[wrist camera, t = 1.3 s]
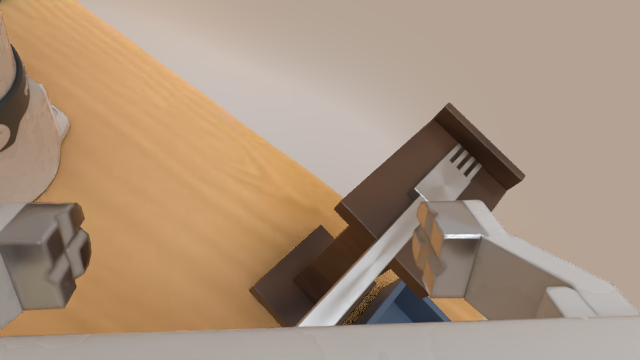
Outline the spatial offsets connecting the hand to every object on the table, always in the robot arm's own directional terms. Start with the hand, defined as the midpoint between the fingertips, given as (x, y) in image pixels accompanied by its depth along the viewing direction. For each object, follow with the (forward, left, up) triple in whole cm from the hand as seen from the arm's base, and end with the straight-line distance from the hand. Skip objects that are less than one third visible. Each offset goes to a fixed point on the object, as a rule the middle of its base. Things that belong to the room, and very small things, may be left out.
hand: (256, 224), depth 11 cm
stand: (+4, +19, -39) cm, 43 cm away
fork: (+4, +13, -13) cm, 19 cm away
